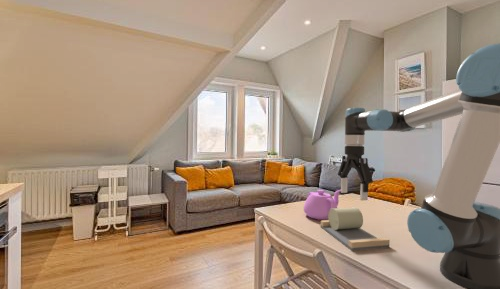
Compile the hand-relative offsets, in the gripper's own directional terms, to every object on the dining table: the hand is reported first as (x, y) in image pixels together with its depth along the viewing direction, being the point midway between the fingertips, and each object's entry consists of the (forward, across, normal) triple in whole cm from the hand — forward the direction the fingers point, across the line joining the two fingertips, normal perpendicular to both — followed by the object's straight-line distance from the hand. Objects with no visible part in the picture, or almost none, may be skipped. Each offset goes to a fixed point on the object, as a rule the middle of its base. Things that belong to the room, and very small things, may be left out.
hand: (353, 196), depth 104 cm
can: (+11, +7, -7) cm, 15 cm away
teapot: (+17, +27, -1) cm, 32 cm away
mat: (+17, 0, 0) cm, 17 cm away
